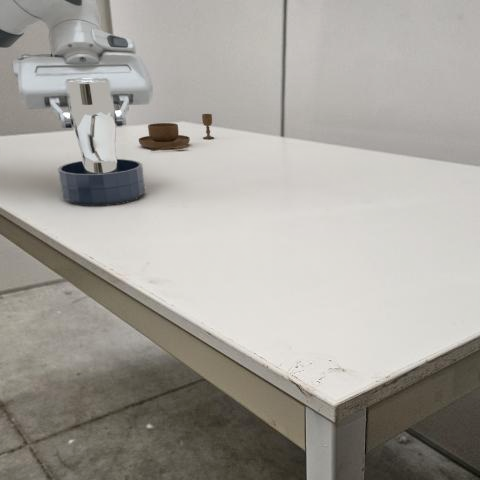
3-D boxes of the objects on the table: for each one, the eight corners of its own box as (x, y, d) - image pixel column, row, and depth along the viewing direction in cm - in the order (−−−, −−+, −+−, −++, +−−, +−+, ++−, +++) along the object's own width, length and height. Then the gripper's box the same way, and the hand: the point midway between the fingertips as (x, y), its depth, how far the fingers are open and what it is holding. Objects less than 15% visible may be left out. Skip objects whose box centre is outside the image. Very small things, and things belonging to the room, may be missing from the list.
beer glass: (71, 180, 99) (54, 80, 92) (93, 172, 105) (78, 77, 99) (112, 182, 98) (97, 81, 91) (131, 173, 104) (119, 78, 98)
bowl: (56, 208, 96) (50, 176, 94) (70, 189, 107) (65, 160, 105) (142, 204, 98) (139, 173, 96) (147, 186, 110) (144, 157, 108)
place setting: (133, 141, 153) (130, 116, 151) (211, 137, 161) (210, 113, 159) (146, 153, 139) (143, 126, 137) (231, 147, 147) (230, 121, 144)
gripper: (7, 40, 95) (19, 114, 91) (143, 39, 102) (160, 108, 98) (14, 70, 100) (26, 140, 96) (142, 67, 108) (158, 133, 104)
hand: (94, 124), depth 97 cm, fingers closed on beer glass, 7 cm apart
